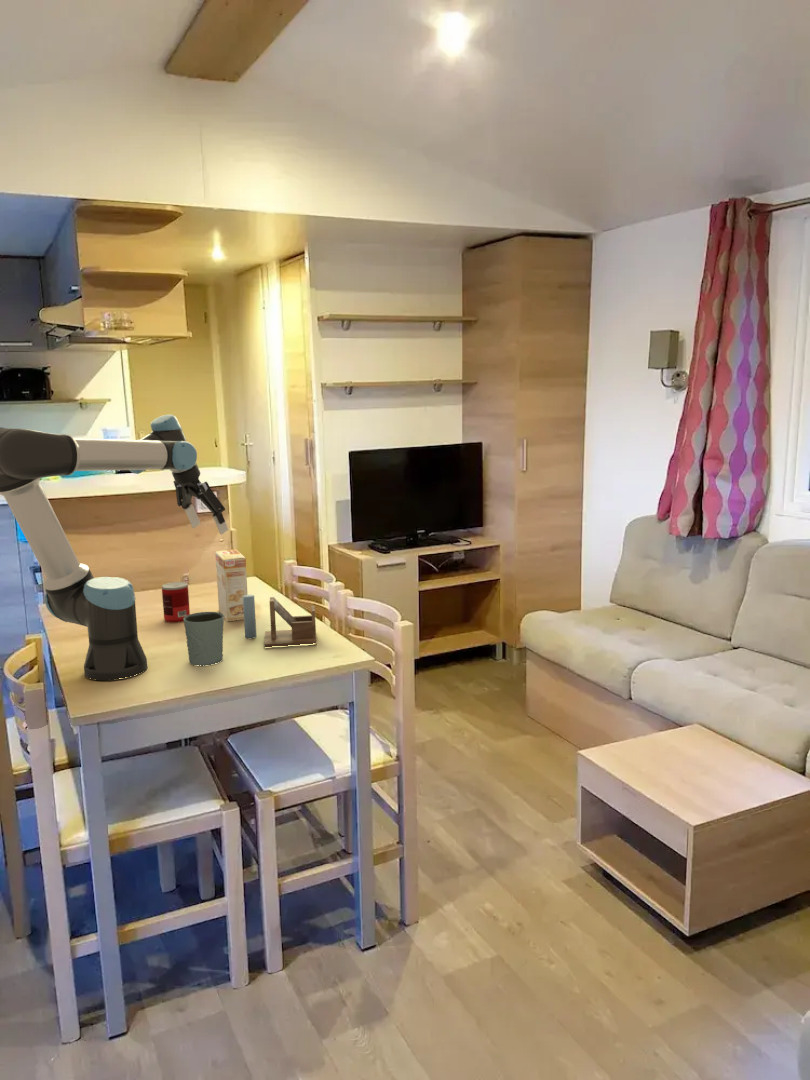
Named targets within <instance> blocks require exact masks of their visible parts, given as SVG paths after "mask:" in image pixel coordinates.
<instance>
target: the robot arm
mask: <svg viewBox="0 0 810 1080" xmlns="http://www.w3.org/2000/svg"><path fill="white" fill-rule="evenodd" d="M150 428H151V432H150V433H148V434H147V435H145V436H144V437H142V438H141V439H104V438H103V439H101V438H99V439H98V438H97V439H93V438H74V437H72V436H71V435H70V434H66V433H65V434H64V433H63V434H62V433H61V434H60V433H51V432H43V431H39V430H35V429H33V430H32V429H28V428H8V427H7V428H5V427H0V495H1V496H3V497H4V499H5V501H6V503H7V505H8V506H9V508H10V510H11V513H12V515H13V516H14V518H15V520H16V522H17V524H18V526H19V528H20V529H21V532H22V534H23V535H24V537H25V539H26V541H27V543H28V545H29V547H30V549H31V551H32V553H33V555H34V557H35V559H36V560H37V562H38V565H39V566H40V568H41V570H42V572H43V574H44V577H46V578H45V579H44V582H43V588H44V589H45V595H44V603H45V607H46V608H47V610H48V611H49V614H50V615H52V616H54V617H55V618H57V619H59V620H61V621H62V622H65V623H70V624H75V625H79V626H83V627H87V634H88V635H87V637H88V649H87V651H86V656H85V661H84V664H83V674H84V677H85V676H86V677H88V678H91V679H96V680H113V681H115V680H114V679H119V678H125V677H130V676H133V677H135V676H134V675H136V674H139V673H141V672H142V673H144V672H145V671H147V669H148V658H147V656H146V654H145V652H144V649H143V646H142V645H141V643H140V640H139V637H138V636H139V635H138V623H137V612H136V611H137V610H136V609H137V608H136V595H135V589H134V586H133V584H132V582H131V581H129V580H127V579H126V578H123V577H117V576H114V577H113V576H112V577H111V576H99V577H94V576H93V574H92V573H93V572H92V571H91V569H90V567H89V566H88V564H86V563H81V562H79V559H78V557H77V555H76V553H75V552H74V550H73V547H72V545H71V543H70V540H69V539H68V538H67V537H68V536H67V534H66V533H65V531H64V528H63V527H62V525H61V523H60V521H59V519H58V517H57V515H56V512H55V511H54V508H53V506H52V505H51V502H50V501H49V498H48V497H47V495H46V492H45V491H44V489H43V486H42V484H41V482H40V481H41V479H43V478H49V477H58V476H71V475H73V474H74V473H75V472H87V471H88V472H89V471H91V472H93V471H94V472H95V471H98V472H99V471H100V472H101V471H129V472H130V473H132V474H135V475H138V474H141V473H143V472H145V471H147V470H149V471H151V470H152V471H153V470H168V471H171V475H172V477H173V485H174V487H175V495H176V503H177V506H178V507H182V509H183V510H184V511H185V513H186V515H187V518H188V520H189V522H190V525H191V528H192V529H195V528H196V527H198V526H199V525H200V524H202V523H201V521H200V518H199V516H198V513H197V511H196V509H195V507H194V505H192V504H193V502H192V498H193V497H195V498H196V499H197V500H199V501H201V502H202V503H203V505H205V507H206V508H207V509H208V510H209V511H210V512H211V513H212V515H211V516H212V518H213V520H214V522H215V524H216V528H217V530H218V532H219V534H220V535H223V534H225V533H226V532H227V531H229V527H228V525H227V523H226V520H225V518H224V515H223V512H224V511H226V508H225V506H224V505H223V503H222V502H221V501H220V500H219V498H218V497H217V495H216V494H215V493H214V491H213V490H212V489H211V487H210V485H209V483H208V482H207V481H204V482H201V481H200V476H201V472H200V468H199V466H198V464H197V460H198V455H197V454H198V453H197V449H196V447H195V446H194V444H193V443H191V442H189V441H188V440H187V438H186V435H185V434H184V431H183V428H182V426H181V424H180V422H179V420H178V418H177V417H176V416H175V414H163V415H161V416H158V417H156V418H154V419H153V420H152V421H151V422H150ZM143 671H144V672H143ZM142 673H141V674H142ZM139 675H140V674H139ZM136 676H137V675H136ZM86 677H85V678H86ZM88 678H87V679H88ZM130 678H131V677H130ZM91 679H90V680H91ZM96 680H95V681H96Z"/></svg>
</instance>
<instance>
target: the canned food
mask: <svg viewBox="0 0 810 1080" xmlns="http://www.w3.org/2000/svg"><path fill="white" fill-rule="evenodd" d="M189 594H190V593H189V585H188V583H187V582H183V581H173V582H167V583H165V584H163V585H161V596H162V597H161V598H162V606H163V608H162V610H163V618H164V621H165V622H166V623H170V624H171V623H172V624H174V623H175V624H176V623H182V622H183V623H184V620H183V618H184V617H185V616H187V615H190V614H191V611H190V597H189V596H190V595H189Z"/></svg>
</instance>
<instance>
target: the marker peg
mask: <svg viewBox="0 0 810 1080" xmlns="http://www.w3.org/2000/svg"><path fill="white" fill-rule="evenodd" d="M255 603H256V601H255V595H254V594H248V595H245V596H243V609H244V620H243V624H244V637H246V638H245V639H248V638H251V639H254V638H253V637H255V638H257V624H256V623H257V621H256V604H255Z"/></svg>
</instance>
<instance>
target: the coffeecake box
mask: <svg viewBox="0 0 810 1080" xmlns="http://www.w3.org/2000/svg"><path fill="white" fill-rule="evenodd" d="M214 553H215V554H214V555H215V570H216V585H217V586H216V588H217V601H218V602H217V603H218V604H217V605H218V611H219V613H221V614H223V615H224V619H225V621H226V622H228V621H229V622H235V621H236V620H237V621H244V609H243V596H245V595H249V594H248V576H247V575H248V574H247V557H245V556H244V555H243V554H242V553H241V552H240V551H238V550H237V549H235V548H233V549H223V550H215V552H214Z"/></svg>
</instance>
